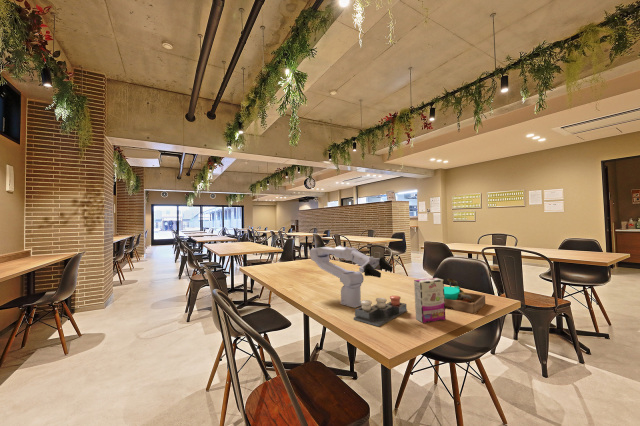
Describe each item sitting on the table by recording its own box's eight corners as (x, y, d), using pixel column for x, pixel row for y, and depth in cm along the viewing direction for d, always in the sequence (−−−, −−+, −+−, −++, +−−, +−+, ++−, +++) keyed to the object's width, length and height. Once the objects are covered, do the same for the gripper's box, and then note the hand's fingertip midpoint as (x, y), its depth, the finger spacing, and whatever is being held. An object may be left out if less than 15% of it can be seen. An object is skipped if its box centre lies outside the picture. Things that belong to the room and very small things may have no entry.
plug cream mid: (373, 308, 118) (373, 299, 118) (379, 305, 121) (379, 297, 121) (383, 310, 115) (383, 301, 115) (388, 307, 118) (388, 299, 118)
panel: (352, 319, 114) (352, 310, 114) (382, 305, 131) (382, 297, 131) (380, 327, 105) (379, 317, 105) (408, 311, 122) (407, 303, 122)
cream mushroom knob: (358, 310, 115) (358, 302, 115) (365, 308, 118) (364, 299, 118) (368, 313, 112) (367, 304, 112) (374, 310, 115) (373, 301, 115)
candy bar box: (437, 316, 115) (436, 277, 116) (446, 320, 111) (444, 279, 111) (414, 319, 112) (413, 279, 113) (422, 323, 108) (421, 282, 108)
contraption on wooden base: (478, 303, 130) (477, 271, 131) (460, 311, 120) (458, 277, 120) (449, 297, 142) (448, 268, 142) (430, 304, 131) (429, 272, 131)
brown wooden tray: (424, 303, 132) (424, 295, 132) (438, 295, 145) (438, 288, 145) (475, 313, 117) (474, 304, 117) (485, 303, 130) (485, 295, 130)
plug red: (388, 305, 121) (387, 297, 121) (393, 303, 124) (392, 294, 124) (397, 307, 118) (397, 299, 118) (402, 305, 121) (402, 296, 121)
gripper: (352, 257, 123) (375, 269, 112) (374, 248, 131) (397, 259, 121) (352, 271, 125) (374, 284, 115) (373, 261, 133) (396, 273, 123)
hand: (386, 272), depth 118 cm, fingers open, 7 cm apart
